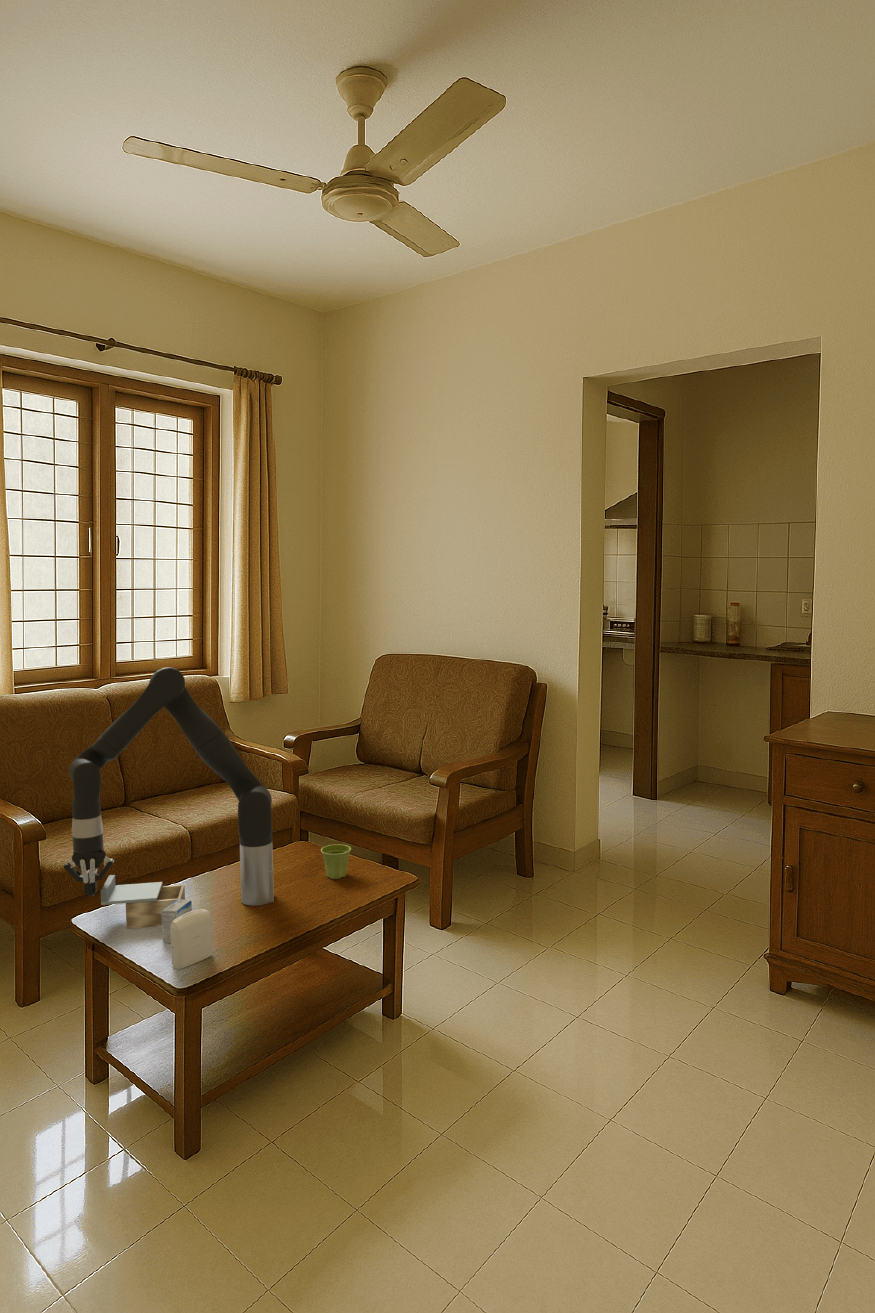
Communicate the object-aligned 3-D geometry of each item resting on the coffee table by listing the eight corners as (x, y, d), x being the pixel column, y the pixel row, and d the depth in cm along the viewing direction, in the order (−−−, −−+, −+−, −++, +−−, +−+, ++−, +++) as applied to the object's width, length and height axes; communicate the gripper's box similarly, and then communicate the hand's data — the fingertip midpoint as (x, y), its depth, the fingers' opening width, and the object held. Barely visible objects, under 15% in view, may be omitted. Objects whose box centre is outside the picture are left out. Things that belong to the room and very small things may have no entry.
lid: (162, 884, 230) (162, 871, 230) (156, 900, 218) (156, 887, 218) (109, 888, 227) (109, 875, 227) (101, 905, 215) (100, 891, 215)
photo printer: (178, 971, 194) (176, 921, 193) (168, 966, 197) (166, 916, 195) (215, 956, 202) (214, 908, 201) (205, 951, 204) (203, 903, 203)
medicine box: (178, 944, 208) (176, 911, 208) (162, 943, 209) (160, 910, 209) (193, 931, 216) (192, 899, 215) (177, 930, 217) (176, 898, 216)
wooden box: (185, 908, 231) (184, 884, 231) (181, 924, 221) (180, 899, 220) (133, 912, 229) (132, 888, 228) (126, 929, 218) (125, 903, 217)
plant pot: (349, 881, 252) (349, 854, 251) (319, 881, 252) (318, 854, 251) (353, 870, 261) (352, 844, 260) (323, 870, 261) (323, 844, 261)
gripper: (116, 826, 224) (119, 888, 225) (64, 830, 221) (68, 892, 223) (111, 835, 217) (114, 898, 218) (57, 838, 214) (61, 902, 216)
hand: (90, 895), depth 220 cm, fingers closed
